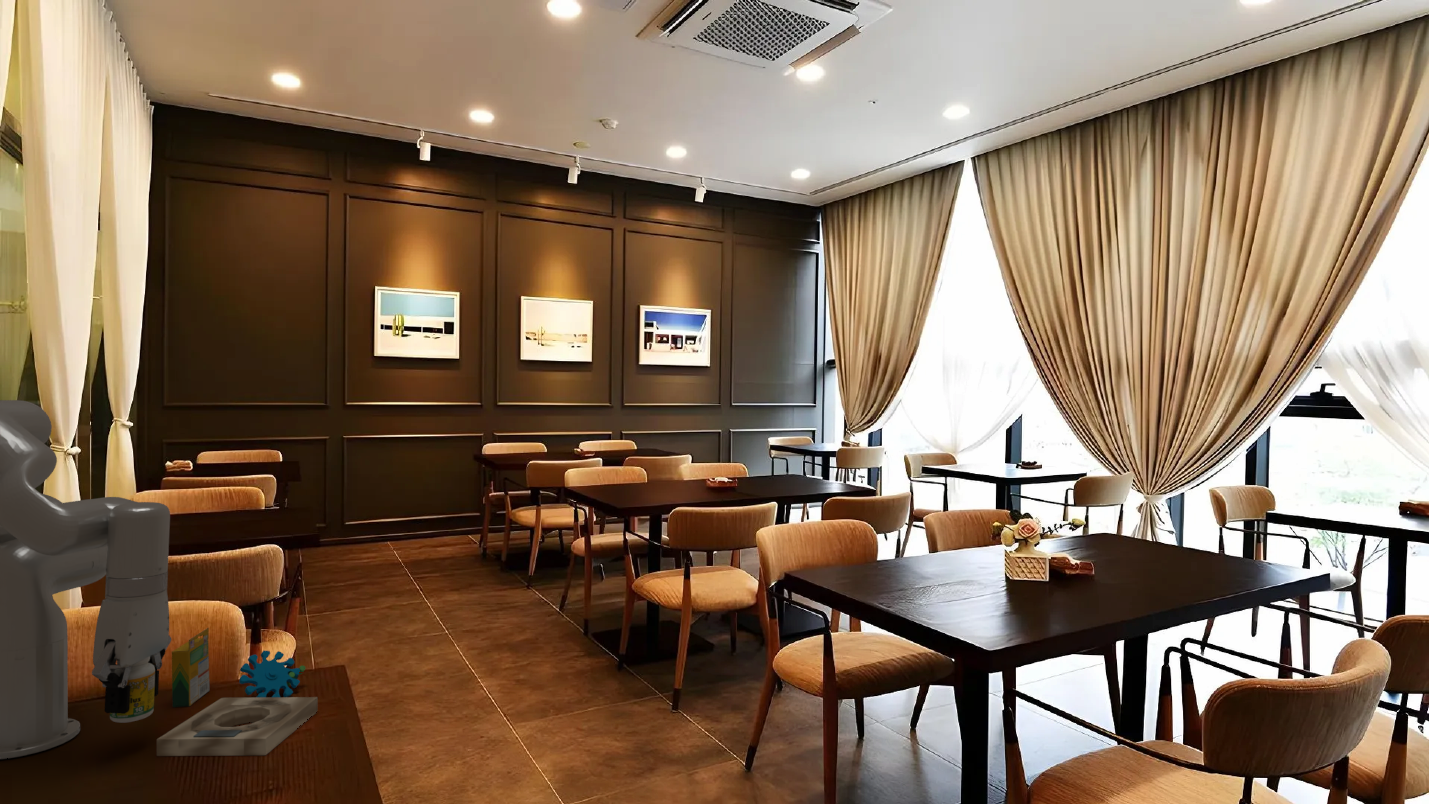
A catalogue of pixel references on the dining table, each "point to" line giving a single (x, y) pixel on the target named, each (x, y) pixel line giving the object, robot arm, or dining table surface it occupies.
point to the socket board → (238, 727)
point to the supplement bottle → (138, 692)
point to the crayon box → (190, 670)
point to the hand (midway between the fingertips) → (132, 702)
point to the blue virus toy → (270, 675)
